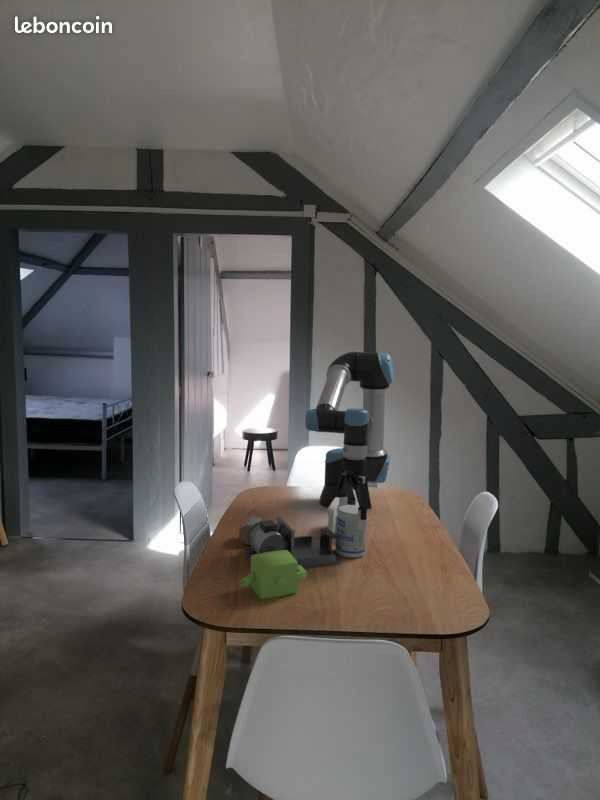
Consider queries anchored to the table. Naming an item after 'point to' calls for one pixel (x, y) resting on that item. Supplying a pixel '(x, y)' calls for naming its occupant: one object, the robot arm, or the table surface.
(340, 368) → the robot arm
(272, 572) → the gearbox
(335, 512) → the cable organizer
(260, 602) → the table surface
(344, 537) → the supplement tub
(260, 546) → the motor clip
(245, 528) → the ceramic mug
